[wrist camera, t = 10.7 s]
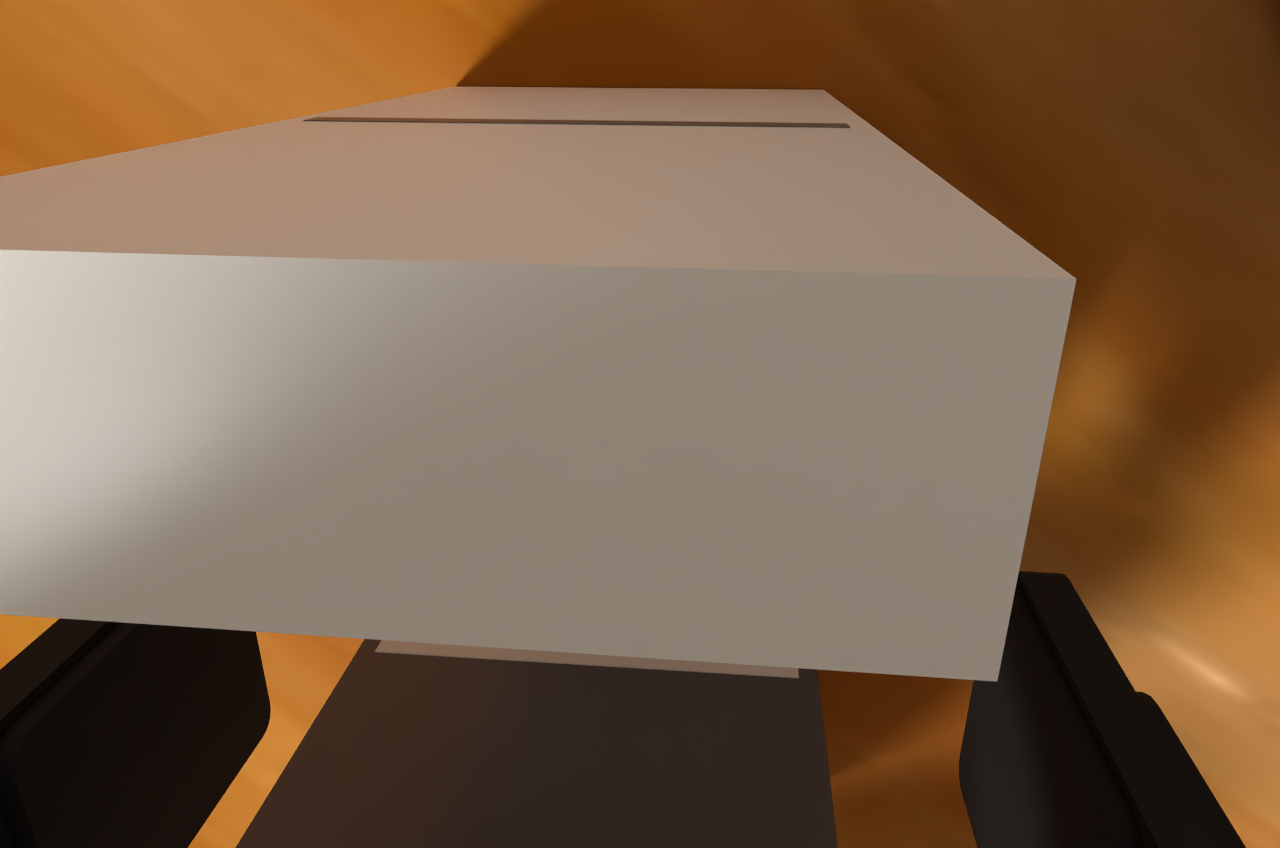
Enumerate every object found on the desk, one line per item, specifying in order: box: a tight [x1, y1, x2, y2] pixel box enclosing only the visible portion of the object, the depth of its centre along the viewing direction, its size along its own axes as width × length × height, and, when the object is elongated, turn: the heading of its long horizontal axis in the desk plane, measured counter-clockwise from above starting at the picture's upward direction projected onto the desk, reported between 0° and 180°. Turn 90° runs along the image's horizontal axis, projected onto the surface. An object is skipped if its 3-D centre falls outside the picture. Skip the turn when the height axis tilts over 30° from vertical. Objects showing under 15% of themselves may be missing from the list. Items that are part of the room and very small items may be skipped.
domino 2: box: [236, 639, 838, 848], centre depth 10 cm, size 2×5×10 cm, turn 90°
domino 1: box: [0, 87, 1076, 682], centre depth 8 cm, size 2×5×10 cm, turn 90°
